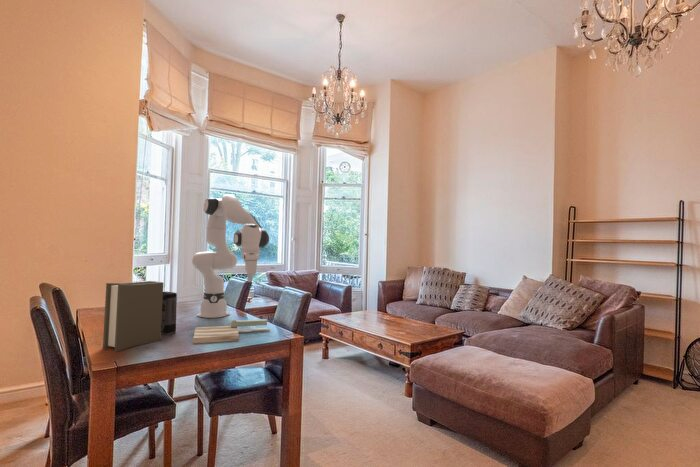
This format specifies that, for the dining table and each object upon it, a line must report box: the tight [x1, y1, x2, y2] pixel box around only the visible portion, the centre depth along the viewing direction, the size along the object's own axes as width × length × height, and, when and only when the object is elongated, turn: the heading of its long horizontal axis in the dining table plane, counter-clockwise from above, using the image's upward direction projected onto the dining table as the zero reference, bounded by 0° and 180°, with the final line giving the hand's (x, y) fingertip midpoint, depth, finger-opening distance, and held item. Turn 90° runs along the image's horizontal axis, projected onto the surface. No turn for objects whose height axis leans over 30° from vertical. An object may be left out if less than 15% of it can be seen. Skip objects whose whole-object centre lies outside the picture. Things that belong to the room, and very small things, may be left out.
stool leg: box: [230, 318, 268, 328], centre depth 198 cm, size 18×3×3 cm, turn 110°
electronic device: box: [161, 291, 178, 336], centre depth 190 cm, size 9×6×20 cm, turn 62°
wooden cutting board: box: [192, 325, 271, 344], centre depth 188 cm, size 20×36×2 cm, turn 109°
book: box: [102, 280, 164, 353], centre depth 171 cm, size 22×9×28 cm, turn 154°
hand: (249, 281), depth 196 cm, fingers closed
